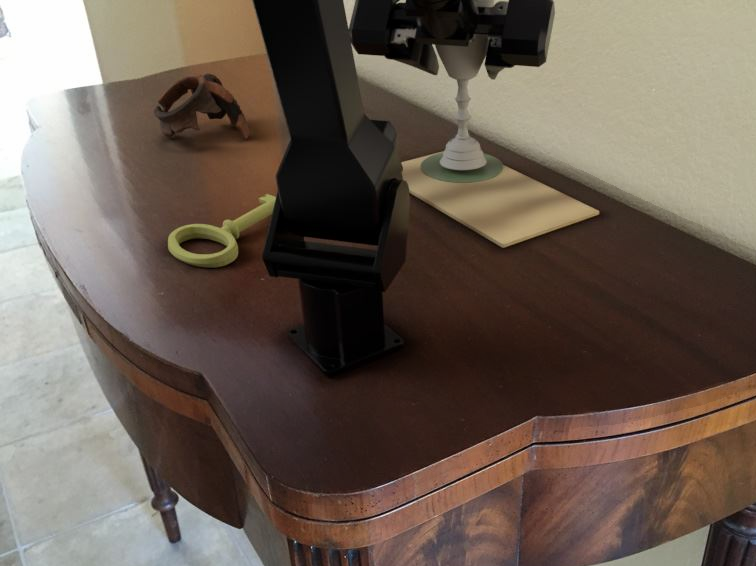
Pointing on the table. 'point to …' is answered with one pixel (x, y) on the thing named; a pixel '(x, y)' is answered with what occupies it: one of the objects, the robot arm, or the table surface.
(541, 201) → the place mat
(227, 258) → the key
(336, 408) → the table surface
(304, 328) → the robot arm
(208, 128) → the table surface
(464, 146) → the chalice
